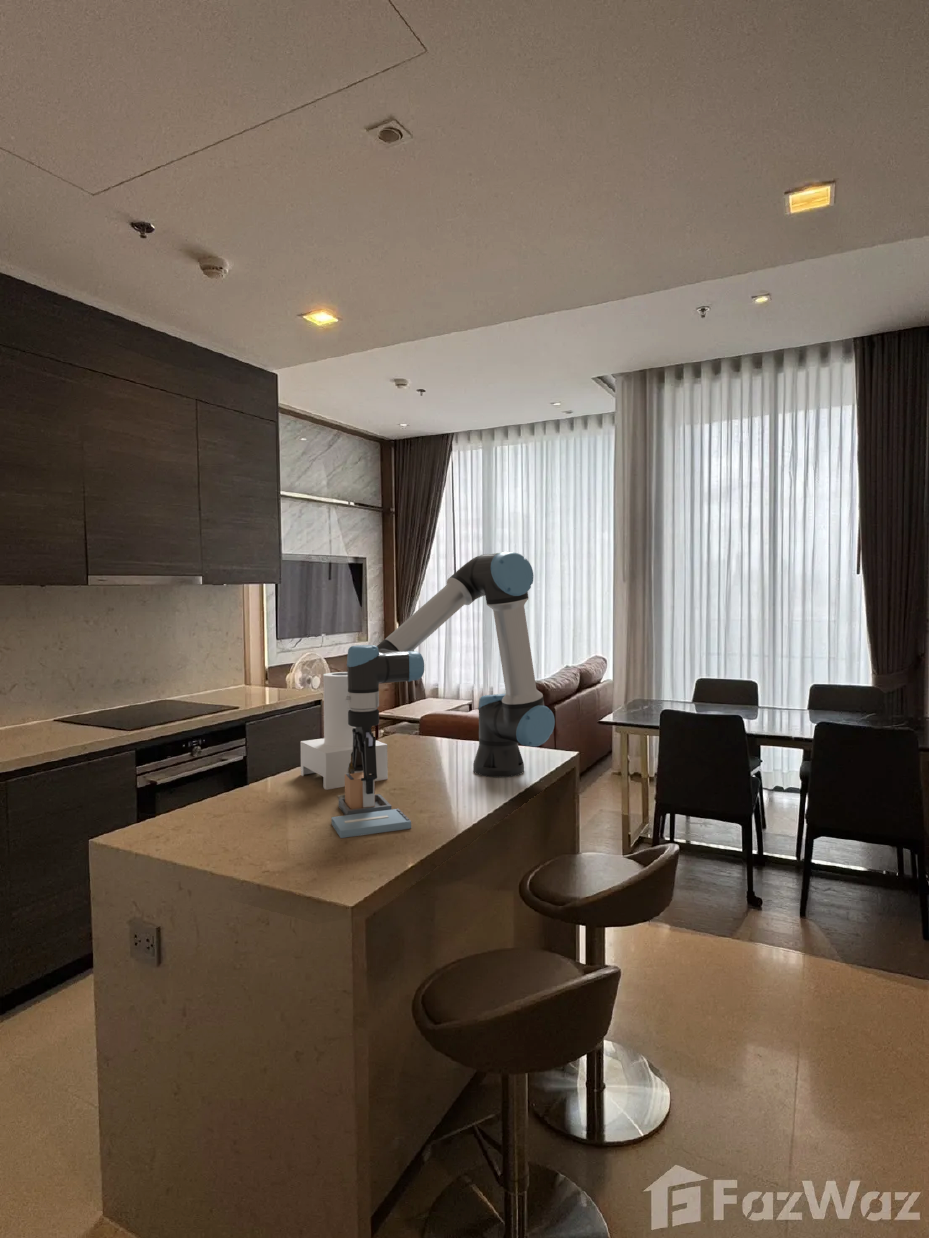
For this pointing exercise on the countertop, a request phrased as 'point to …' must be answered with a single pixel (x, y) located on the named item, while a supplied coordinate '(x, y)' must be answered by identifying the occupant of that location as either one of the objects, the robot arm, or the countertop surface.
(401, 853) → the countertop surface
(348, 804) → the stub
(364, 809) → the tray
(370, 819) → the board
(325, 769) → the paper towel holder
